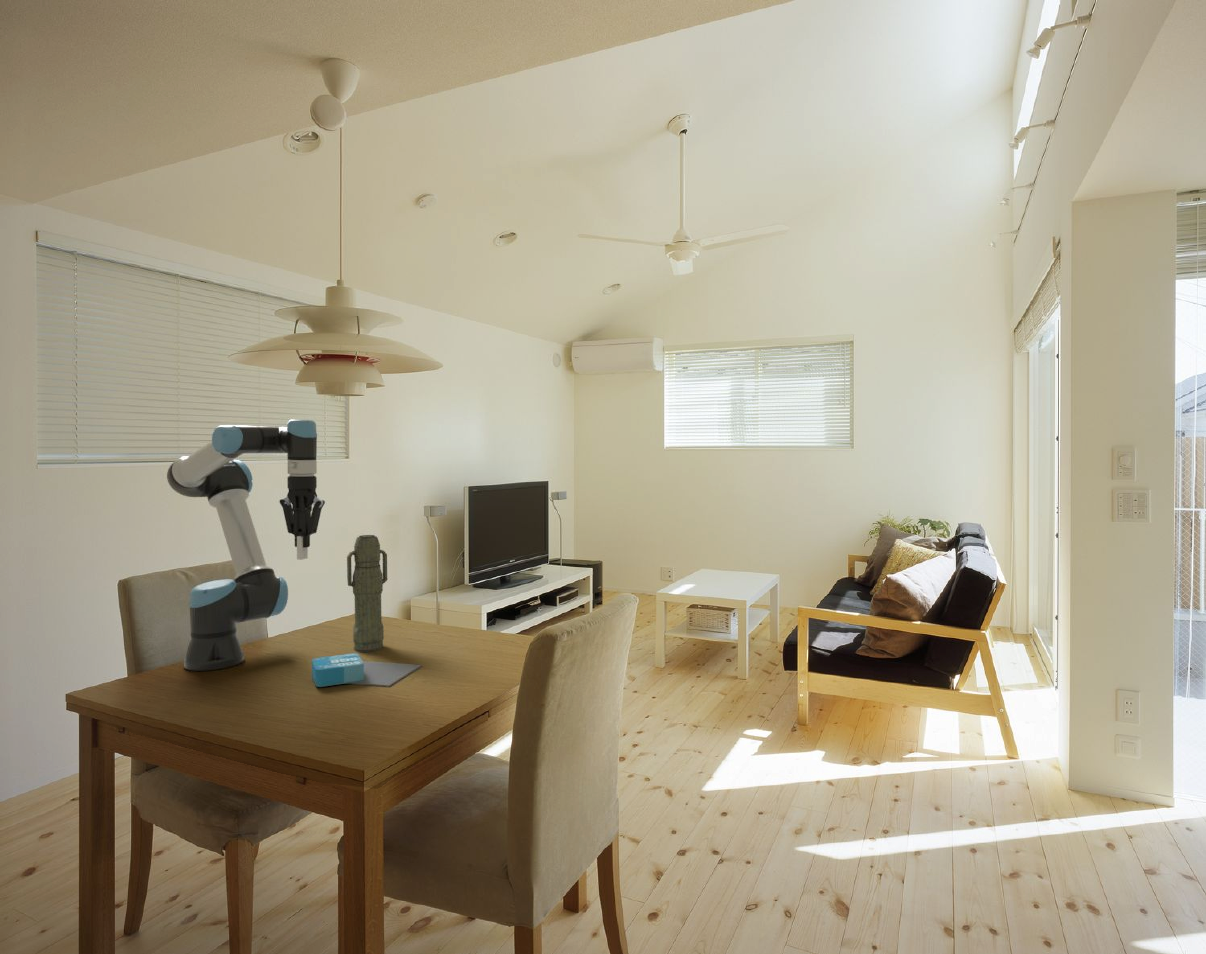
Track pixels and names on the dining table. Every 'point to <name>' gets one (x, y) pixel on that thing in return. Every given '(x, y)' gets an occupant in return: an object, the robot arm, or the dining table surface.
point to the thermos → (367, 592)
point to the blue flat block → (337, 669)
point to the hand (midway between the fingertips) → (302, 558)
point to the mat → (385, 673)
